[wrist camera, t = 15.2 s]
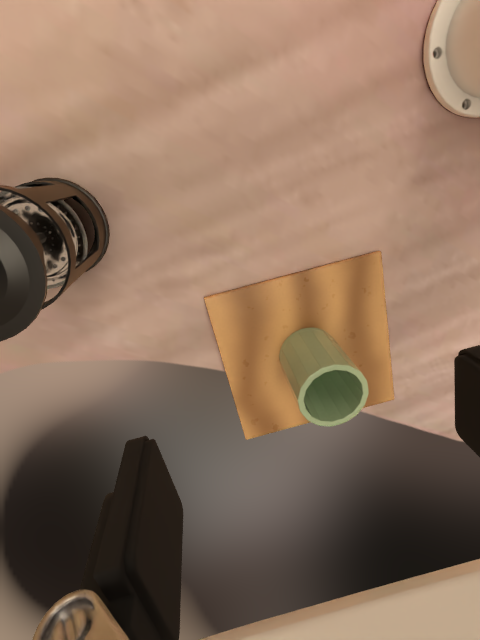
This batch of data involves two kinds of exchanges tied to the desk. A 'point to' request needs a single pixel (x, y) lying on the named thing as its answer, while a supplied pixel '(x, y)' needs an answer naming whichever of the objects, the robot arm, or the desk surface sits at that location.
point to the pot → (322, 377)
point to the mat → (290, 316)
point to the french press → (43, 246)
